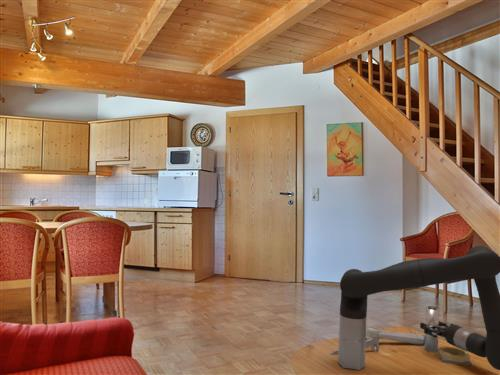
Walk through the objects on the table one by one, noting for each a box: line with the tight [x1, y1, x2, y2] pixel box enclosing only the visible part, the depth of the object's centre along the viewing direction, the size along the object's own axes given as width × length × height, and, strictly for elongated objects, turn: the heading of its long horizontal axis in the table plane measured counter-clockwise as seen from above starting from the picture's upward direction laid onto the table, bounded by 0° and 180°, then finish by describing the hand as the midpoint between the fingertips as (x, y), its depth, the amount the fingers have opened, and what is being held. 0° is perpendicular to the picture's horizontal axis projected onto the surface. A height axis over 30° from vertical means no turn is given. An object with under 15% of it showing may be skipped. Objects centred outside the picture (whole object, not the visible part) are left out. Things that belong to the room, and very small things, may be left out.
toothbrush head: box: [366, 327, 424, 346], centre depth 168 cm, size 5×7×25 cm
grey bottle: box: [423, 305, 440, 353], centre depth 163 cm, size 5×5×17 cm
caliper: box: [329, 335, 380, 356], centre depth 157 cm, size 20×1×6 cm, turn 105°
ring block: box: [437, 345, 473, 367], centre depth 154 cm, size 10×10×3 cm
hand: (429, 324), depth 164 cm, fingers open, 8 cm apart
